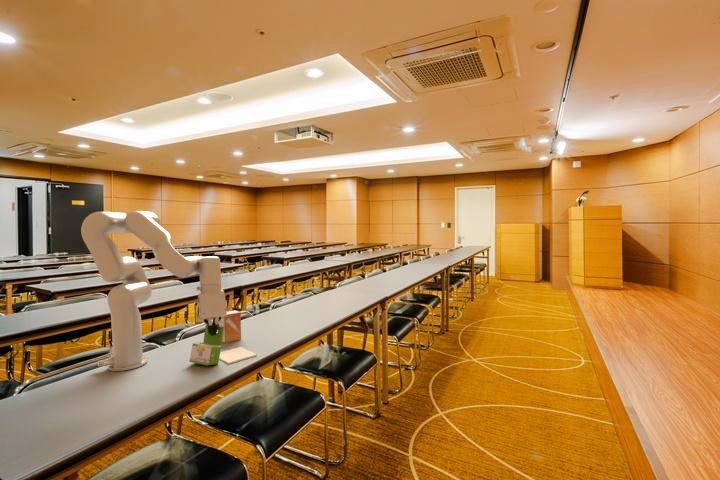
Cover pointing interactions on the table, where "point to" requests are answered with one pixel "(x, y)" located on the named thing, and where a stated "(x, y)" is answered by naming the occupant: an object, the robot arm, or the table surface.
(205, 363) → the ink box
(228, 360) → the mat
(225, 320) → the small box
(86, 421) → the table surface
